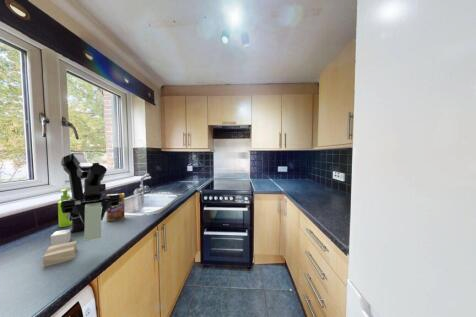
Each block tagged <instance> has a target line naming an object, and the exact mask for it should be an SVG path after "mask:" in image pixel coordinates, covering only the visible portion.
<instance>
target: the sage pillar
mask: <svg viewBox="0 0 476 317" xmlns="http://www.w3.org/2000/svg"><path fill="white" fill-rule="evenodd" d="M101 212H102V204H101V203H92V204H86V205H85V230H84V233H83V234H84V235H83V236H84V238H83V240H84V242H88V241H90V240H95V239H100V238H102V220H101Z"/></svg>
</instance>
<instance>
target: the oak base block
mask: <svg viewBox="0 0 476 317" xmlns="http://www.w3.org/2000/svg"><path fill="white" fill-rule="evenodd" d="M77 245H78V244H77V240H75V241H69V242H68V243H64V244H59V245H55V246H51V245H50V246H48V248H47V249H46V251H45V253H44V255H43V257H42V258H43V259H42V261H43V267H44V268H45V267H47V266H52V265H56V264H60V263H64V262H68V261H72V260H74V259H75V256H76V252H77V251H78V246H77Z"/></svg>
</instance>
